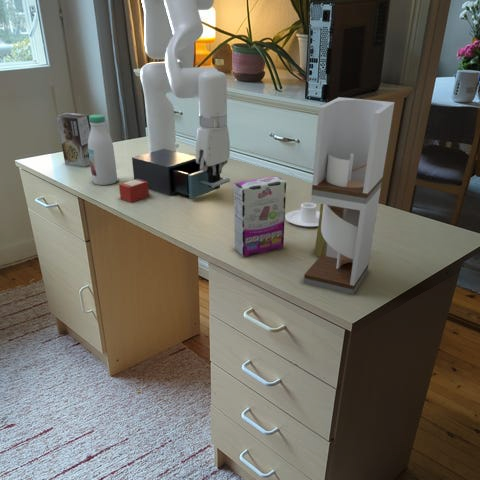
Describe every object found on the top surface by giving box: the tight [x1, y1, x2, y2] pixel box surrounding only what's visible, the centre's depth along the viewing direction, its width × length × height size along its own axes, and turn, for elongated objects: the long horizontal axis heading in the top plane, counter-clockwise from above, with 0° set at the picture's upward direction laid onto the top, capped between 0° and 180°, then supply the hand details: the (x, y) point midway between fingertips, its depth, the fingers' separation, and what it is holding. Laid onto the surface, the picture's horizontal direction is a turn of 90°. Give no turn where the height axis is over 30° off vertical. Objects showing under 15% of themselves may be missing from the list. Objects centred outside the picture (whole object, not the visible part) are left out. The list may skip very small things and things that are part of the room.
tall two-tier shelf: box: [303, 96, 396, 296], centre depth 102 cm, size 11×11×35 cm
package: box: [118, 178, 150, 203], centre depth 152 cm, size 5×7×4 cm, turn 141°
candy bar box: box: [233, 175, 287, 258], centre depth 119 cm, size 11×5×16 cm, turn 117°
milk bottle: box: [88, 114, 118, 186], centre depth 160 cm, size 8×8×20 cm
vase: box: [313, 204, 327, 258], centre depth 118 cm, size 6×6×14 cm
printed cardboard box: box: [56, 112, 91, 167], centre depth 178 cm, size 9×6×16 cm
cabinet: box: [131, 149, 196, 196], centre depth 161 cm, size 16×14×9 cm
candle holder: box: [285, 202, 320, 227], centre depth 138 cm, size 12×12×4 cm
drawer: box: [170, 161, 231, 199], centre depth 155 cm, size 21×12×7 cm, turn 51°
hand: (214, 187), depth 151 cm, fingers closed
